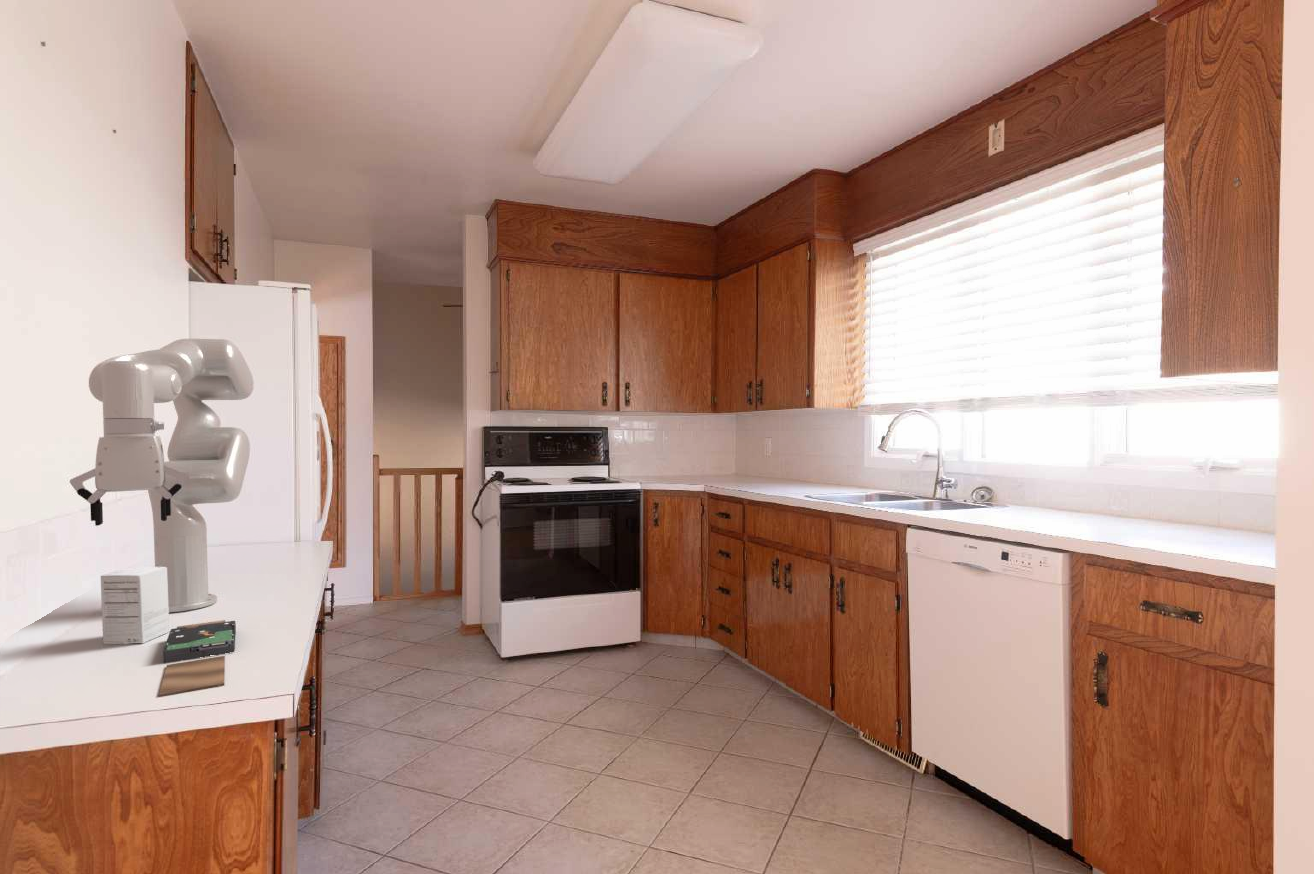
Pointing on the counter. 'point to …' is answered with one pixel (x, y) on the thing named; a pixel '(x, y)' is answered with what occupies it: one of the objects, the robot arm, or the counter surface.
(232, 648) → the disk drive
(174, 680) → the flat brown wooden pieces
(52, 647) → the counter surface
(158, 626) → the supplement box
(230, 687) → the counter surface
